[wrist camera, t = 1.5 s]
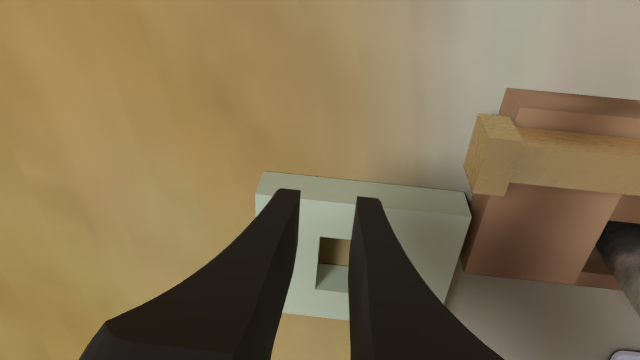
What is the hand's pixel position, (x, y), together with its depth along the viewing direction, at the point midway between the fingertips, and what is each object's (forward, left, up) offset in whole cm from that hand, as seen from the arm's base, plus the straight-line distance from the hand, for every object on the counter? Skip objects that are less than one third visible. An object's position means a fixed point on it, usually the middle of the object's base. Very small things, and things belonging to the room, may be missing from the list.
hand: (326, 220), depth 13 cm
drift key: (-9, 0, -6) cm, 11 cm away
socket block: (-12, +3, -8) cm, 15 cm away
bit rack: (-2, +8, -8) cm, 12 cm away
